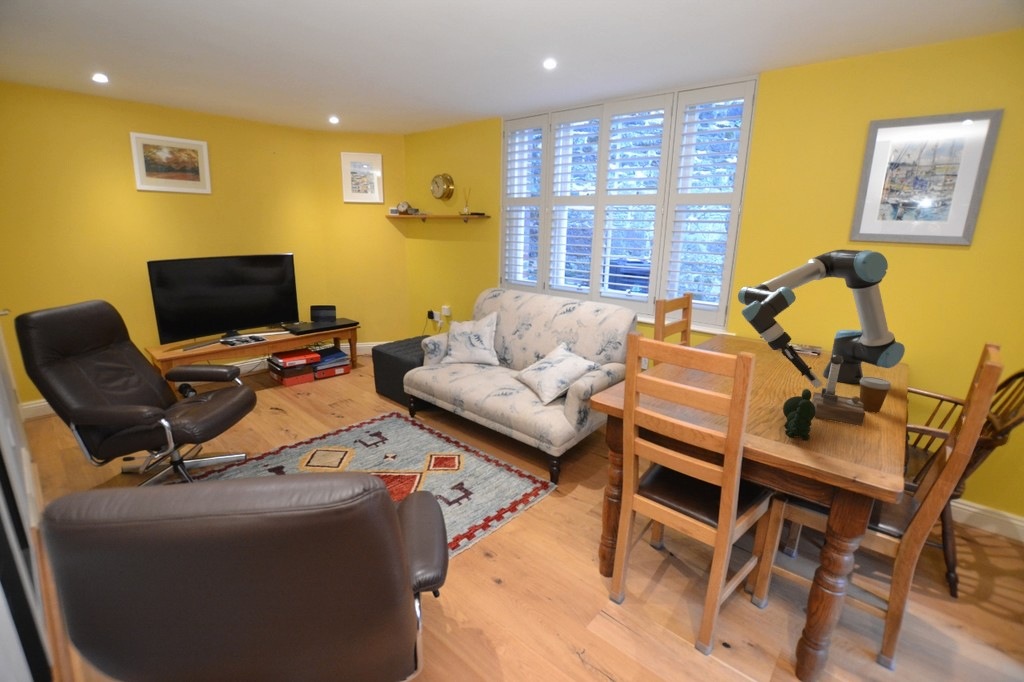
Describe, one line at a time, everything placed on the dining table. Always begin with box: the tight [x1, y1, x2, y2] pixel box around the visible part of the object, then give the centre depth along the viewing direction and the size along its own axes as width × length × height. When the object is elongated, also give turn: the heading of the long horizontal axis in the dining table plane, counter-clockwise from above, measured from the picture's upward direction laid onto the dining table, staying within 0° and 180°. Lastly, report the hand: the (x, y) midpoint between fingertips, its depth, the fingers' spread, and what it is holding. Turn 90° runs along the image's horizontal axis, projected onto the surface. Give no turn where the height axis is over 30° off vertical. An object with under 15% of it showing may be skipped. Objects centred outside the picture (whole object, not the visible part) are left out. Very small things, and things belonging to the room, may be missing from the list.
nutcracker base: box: [811, 387, 866, 427], centre depth 166 cm, size 16×14×8 cm
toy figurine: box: [782, 388, 816, 442], centre depth 149 cm, size 9×19×25 cm
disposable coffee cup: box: [859, 376, 892, 414], centre depth 171 cm, size 10×10×12 cm
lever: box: [825, 355, 843, 395], centre depth 165 cm, size 4×4×17 cm
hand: (819, 386), depth 168 cm, fingers closed
